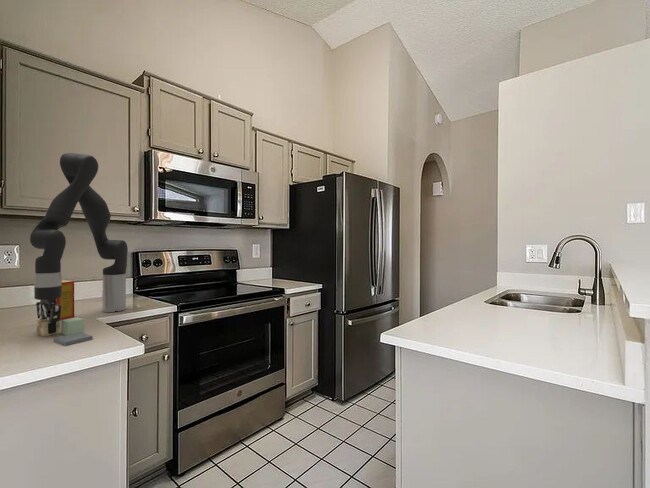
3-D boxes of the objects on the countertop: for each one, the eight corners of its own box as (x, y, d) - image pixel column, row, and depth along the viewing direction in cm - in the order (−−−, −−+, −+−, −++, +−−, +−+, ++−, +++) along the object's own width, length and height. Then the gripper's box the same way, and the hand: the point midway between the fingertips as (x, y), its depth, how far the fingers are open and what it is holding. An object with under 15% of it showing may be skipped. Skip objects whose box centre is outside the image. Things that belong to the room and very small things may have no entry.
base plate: (53, 341, 110) (53, 338, 110) (80, 335, 117) (80, 332, 117) (65, 345, 106) (64, 342, 106) (92, 339, 113) (92, 335, 113)
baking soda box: (74, 317, 142) (74, 280, 141) (57, 320, 135) (57, 282, 135) (60, 315, 145) (59, 278, 144) (42, 318, 139) (42, 280, 138)
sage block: (61, 333, 119) (61, 320, 119) (77, 330, 123) (77, 317, 123) (67, 336, 116) (67, 322, 116) (83, 332, 121) (83, 318, 121)
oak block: (36, 334, 117) (36, 320, 117) (53, 330, 122) (53, 317, 122) (43, 336, 115) (42, 322, 115) (60, 333, 119) (60, 319, 119)
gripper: (70, 285, 118) (70, 332, 118) (51, 282, 125) (52, 326, 125) (44, 288, 111) (44, 338, 112) (26, 284, 118) (26, 331, 119)
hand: (48, 331), depth 118 cm, fingers closed on oak block, 5 cm apart
